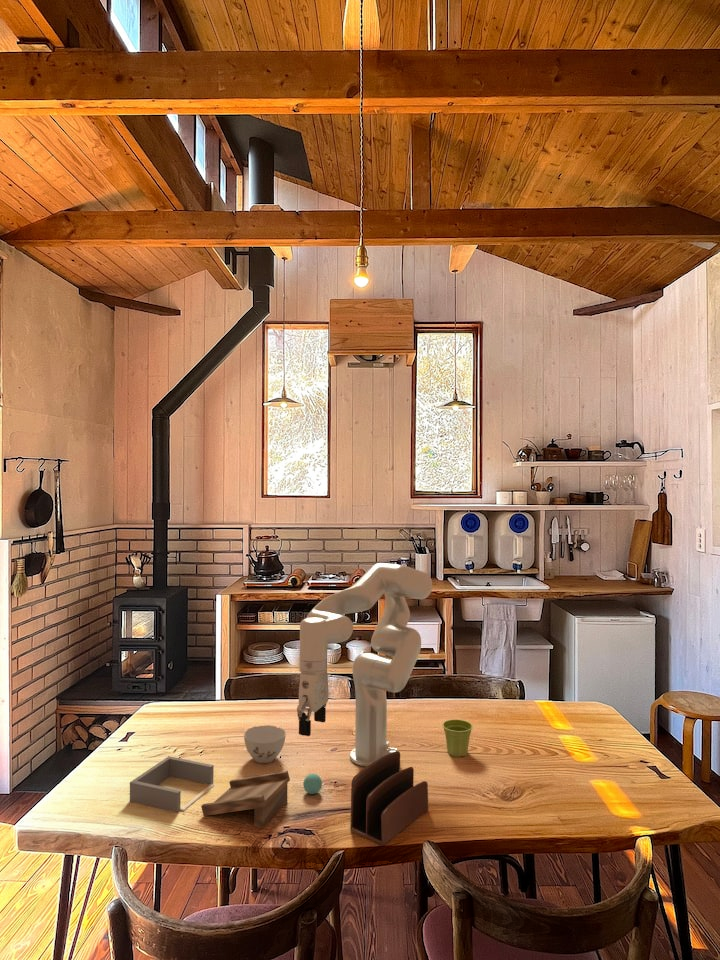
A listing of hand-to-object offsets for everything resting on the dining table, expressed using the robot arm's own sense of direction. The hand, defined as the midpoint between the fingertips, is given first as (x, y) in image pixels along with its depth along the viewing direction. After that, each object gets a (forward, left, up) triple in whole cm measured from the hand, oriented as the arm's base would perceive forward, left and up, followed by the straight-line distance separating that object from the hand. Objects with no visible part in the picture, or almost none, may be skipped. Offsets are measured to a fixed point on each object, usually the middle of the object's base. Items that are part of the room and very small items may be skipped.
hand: (312, 728), depth 164 cm
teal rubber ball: (0, 0, -18) cm, 18 cm away
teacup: (+22, -14, -18) cm, 32 cm away
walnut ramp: (+12, +13, -18) cm, 25 cm away
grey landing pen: (+35, +13, -18) cm, 41 cm away
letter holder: (-24, +5, -18) cm, 30 cm away
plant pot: (-32, -38, -18) cm, 53 cm away
